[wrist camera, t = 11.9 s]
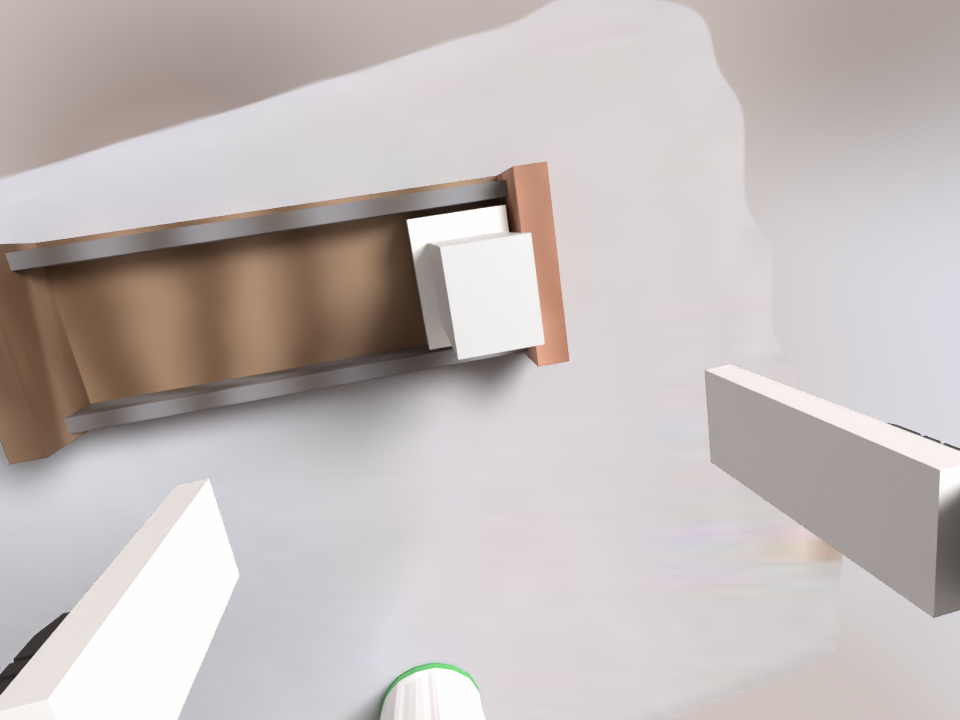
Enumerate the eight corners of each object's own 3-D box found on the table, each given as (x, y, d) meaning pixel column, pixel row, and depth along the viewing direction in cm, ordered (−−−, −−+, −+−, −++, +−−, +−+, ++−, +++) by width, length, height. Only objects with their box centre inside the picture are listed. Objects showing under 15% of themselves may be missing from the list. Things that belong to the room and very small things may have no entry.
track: (55, 427, 38) (-19, 469, 31) (-9, 251, 35) (-106, 255, 28) (560, 336, 42) (592, 356, 35) (541, 170, 39) (571, 157, 32)
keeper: (426, 338, 38) (441, 395, 25) (405, 220, 36) (410, 214, 23) (510, 323, 39) (569, 371, 25) (494, 207, 37) (549, 193, 24)
